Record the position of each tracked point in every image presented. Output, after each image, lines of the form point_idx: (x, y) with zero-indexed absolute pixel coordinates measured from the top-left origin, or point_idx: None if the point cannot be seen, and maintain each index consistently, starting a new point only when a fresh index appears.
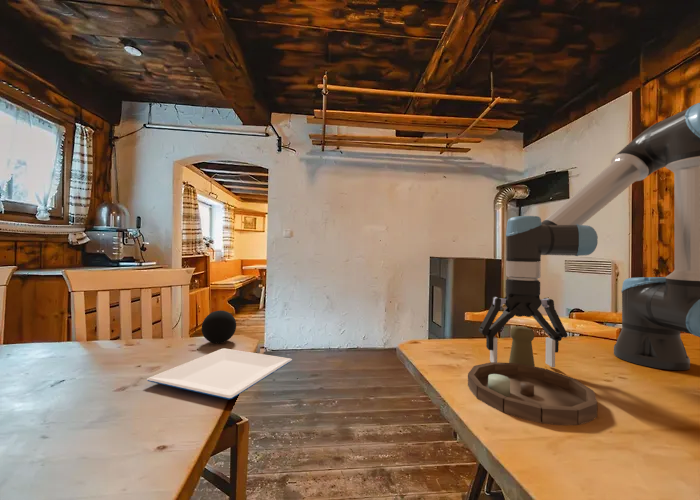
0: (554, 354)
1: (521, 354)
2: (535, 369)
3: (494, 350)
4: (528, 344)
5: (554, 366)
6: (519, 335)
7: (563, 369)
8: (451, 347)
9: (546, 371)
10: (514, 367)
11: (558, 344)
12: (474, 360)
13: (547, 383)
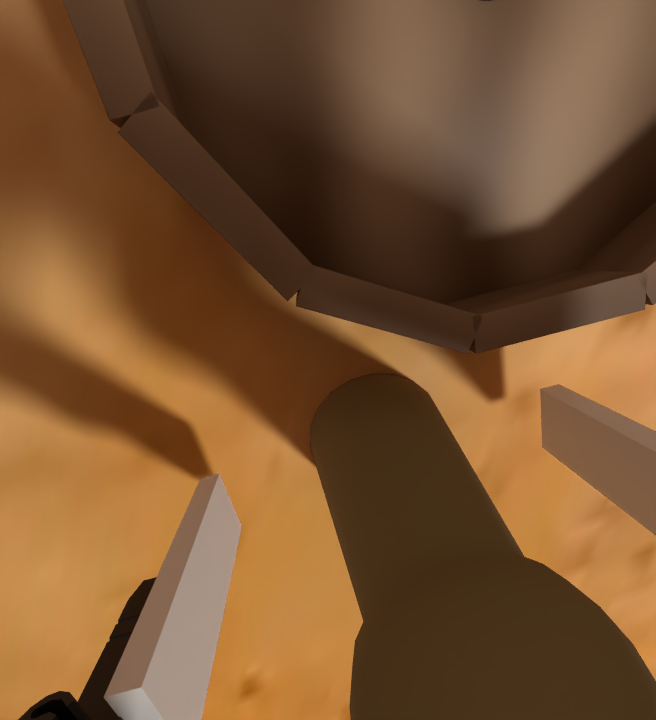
0: (175, 546)
1: (437, 451)
2: (366, 282)
3: (650, 432)
4: (408, 541)
5: (202, 480)
6: (584, 616)
7: (153, 541)
8: (622, 621)
9: (298, 251)
10: (489, 306)
11: (97, 662)
12: (571, 498)
13: (299, 222)
